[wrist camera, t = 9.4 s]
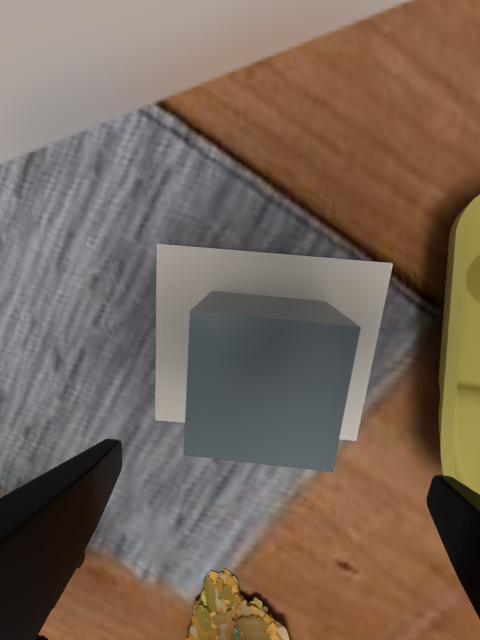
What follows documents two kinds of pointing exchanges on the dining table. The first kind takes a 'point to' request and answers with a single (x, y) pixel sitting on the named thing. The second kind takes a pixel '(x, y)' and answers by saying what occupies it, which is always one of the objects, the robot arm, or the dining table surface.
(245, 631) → the green and yellow piece
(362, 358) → the base plate
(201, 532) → the dining table surface
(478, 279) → the plastic component
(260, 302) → the slate grey cube
